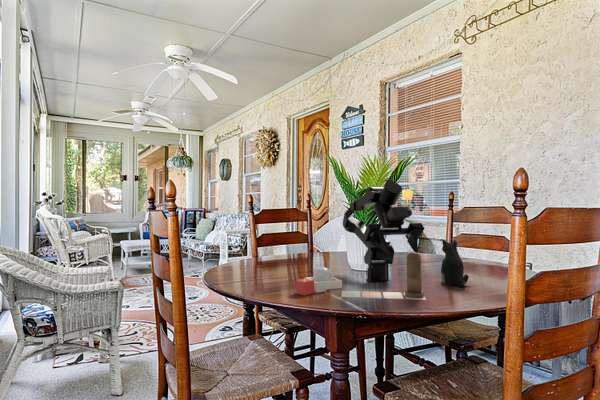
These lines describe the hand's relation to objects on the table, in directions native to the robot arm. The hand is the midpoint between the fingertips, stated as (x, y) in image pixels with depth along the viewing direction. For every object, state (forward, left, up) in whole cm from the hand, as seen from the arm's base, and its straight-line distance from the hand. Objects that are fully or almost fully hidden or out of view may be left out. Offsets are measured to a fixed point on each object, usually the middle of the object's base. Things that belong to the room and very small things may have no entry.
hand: (403, 252), depth 115 cm
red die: (+28, -12, -12) cm, 32 cm away
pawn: (+1, +6, -11) cm, 13 cm away
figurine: (-22, -3, -12) cm, 26 cm away
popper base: (+20, -16, -12) cm, 28 cm away
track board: (+9, +2, -12) cm, 15 cm away
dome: (+20, -16, -11) cm, 27 cm away
